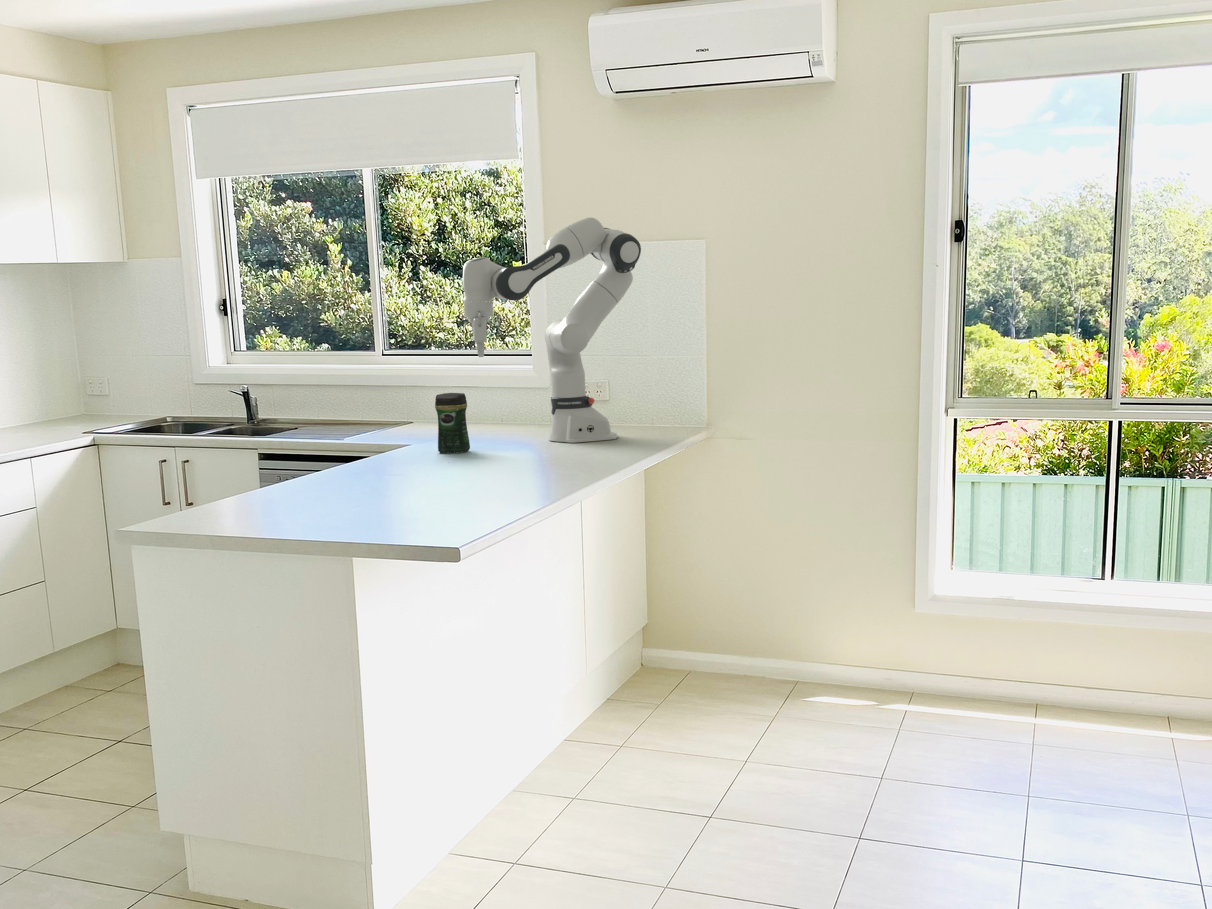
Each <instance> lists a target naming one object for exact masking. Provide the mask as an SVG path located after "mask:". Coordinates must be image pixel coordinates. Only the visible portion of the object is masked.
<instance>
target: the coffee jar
mask: <svg viewBox="0 0 1212 909" xmlns="http://www.w3.org/2000/svg"><path fill="white" fill-rule="evenodd" d="M434 408H435V411H436V414H437V422H438V423H437V424H438V425H437V427H438V428H437V429H438V431H437V432H438V433H437V434H438V435H437V451H438V452H439V453H440V454H459V453H467V452H469V451H470V450H471V444H470V437H469V431H468V426H467V417H466V416H467V415H466V413H467V412H466V411H467V408H468V402H467V397H466V393H464V392H463V393H462V392H444V393H439V394H437V395H435V401H434Z"/></svg>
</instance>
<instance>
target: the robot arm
mask: <svg viewBox="0 0 1212 909" xmlns="http://www.w3.org/2000/svg"><path fill="white" fill-rule="evenodd" d="M641 251H642V246H641V244H640V241H639V240H638V239H637V238H636V237H635V236H633V235H632V234H630V233H627V232H624V231H622V230H619V229H611V228H608V227H604V226H603V225H602V223H601V221H599V220H598V219H597V218H595V217H586V218H584V219H580V220H578V221H576V222H573V223H571V224H569V225H567V226H565V227H564V228H562V229H560V230H559V231H557V232H556V233H555V234H554V235H552V236H551V237H550V238H549V239H548V241H547V242H546V249H545V251H544V252H543V253H541V254H539V255H538V256H537V257H535V258H534V259H531V260H530V261H528V262H527V263H525V264H523V265H517V266H515V265H513V266H511V267H510V266H509V267H505V266H502V265H499V264H497V263H495V262H493V261H492V260H490V259H489V258H488V257H486V256H485V257H483V256H482V257H477V258H473V259H469V260H467V261H466V262H465V263H464V265H463V267H462V288H463V292H464V298H463V309H464V310H463V311H464V318H468V323H470V324H471V330H472V335H473V340H474V343H476V348H477V356H478V357H479V358H484V357H485V343H486V342H487V338H488V336H487V325H488V324H487V323H490V317H491V318H492V317H494V304H493V303H494V302H493V299H495V298H496V299H499V300H505V301H506V300H509V301H515V302H516V301H520V300H523V299H524V298H525V297H526V296H527V295H528V294H529V293H530V291H531V290H532V289H533V287H534V285H535V284H537V282H539V281H541V280H542V279H543V278H545V277H547V276H549V275H550V274H552V273H553V272H555V271H556V270H558V269H562V268H565V267H567V266H568V267H569V266H571V265H573V264H575V263H577V262H580V261H581V260H583V259H584V258H585V257H587V256H588V255H591V256H592V257H594V258H595V259H596V260H597V261H601V262H602V267H601V269H600V271H599V273H598V274H597V275H596V276H595V277H594V279H592V280H591V282H590V283H589V284H588V285H587V286H586V287H585V289H584V290H583V291H582V292H581V293H580V295H579V296H578V297H577V298H576V299H575V301H574V304H573V305H572V307H571V308H570V310H569V311H568V312H567V314H566V315H565V317H564V318H563V319H558V320H555V321H553V322H551V323H550V324H549V325H548V327H546V330H545V331H544V340H545V346H546V353H547V359H548V364H549V370H550V381H551V384H550V385H551V397H550V412H551V426H550V427H551V428H550V434H549V438H548V440H549V441H551V442H557V443H558V442H559V443H574V444H575V443H584V442H586V443H587V442H596V441H598V442H599V441H610V440H616V439H618V434H617V432H613V431H612V430H611V424H610V421H609V420H608V418H607V417H606V416H605V415H603V414H602V413H601V412H600V411H598V410H596V408H594V407H593V405H594V403H595V399H594V398H593V397H590V396H588V395H586V394H587V393H586V372H585V369H584V366H583V365H584V364H583V360H582V356H581V352H583V351H584V350H585V349H586V348H587V346H588V344H589V342H590V341H591V340H592V338H593V336H594V335H595V333H596V332H597V330H598V328H599V327H600V325H601V324H602V322H603V321H604V320H605V319H606V318H607V316H609V314H610V313H611V312H612V311H613V309H614V308H615V307H616V306H618V304H619V303H620V301H621V300H622V298H623V297H624V295H625V294H626V293H627V291H628V290H629V288H630V287H631V285H632V282H633V278H634V276H633V273H632V271H633V270H634V269H635V267H636V265H637V263H638V261H639V259H640V256H641V253H642V252H641Z"/></svg>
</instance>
